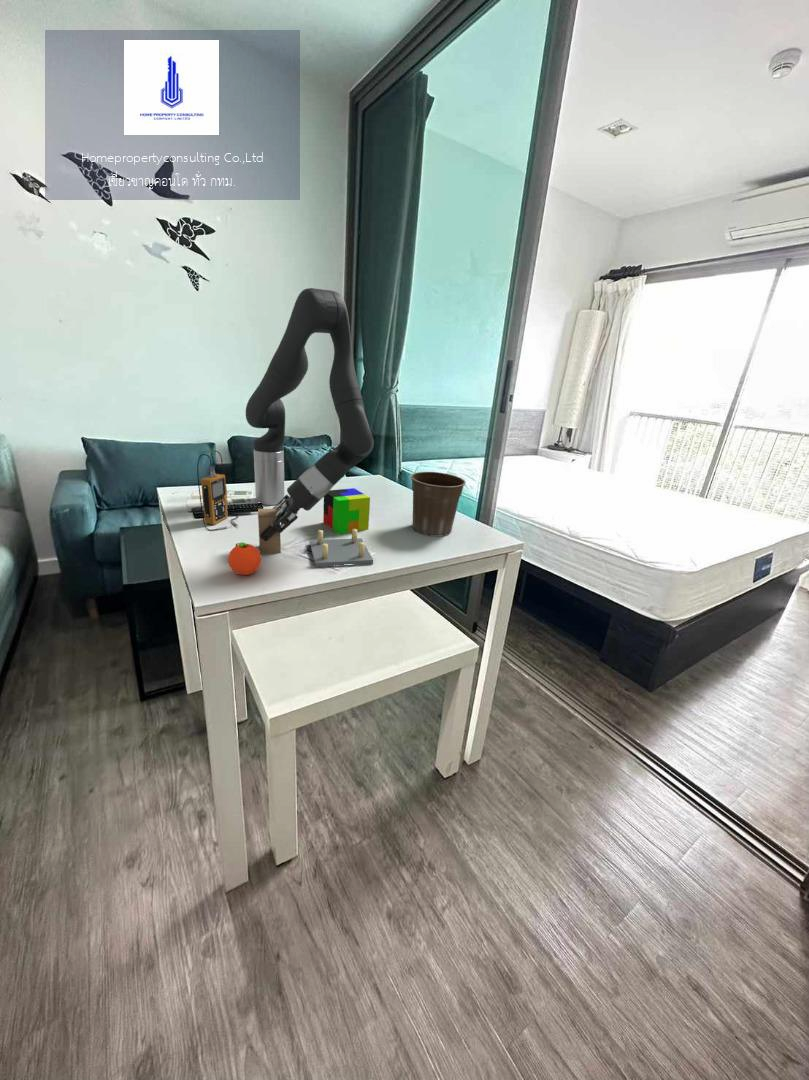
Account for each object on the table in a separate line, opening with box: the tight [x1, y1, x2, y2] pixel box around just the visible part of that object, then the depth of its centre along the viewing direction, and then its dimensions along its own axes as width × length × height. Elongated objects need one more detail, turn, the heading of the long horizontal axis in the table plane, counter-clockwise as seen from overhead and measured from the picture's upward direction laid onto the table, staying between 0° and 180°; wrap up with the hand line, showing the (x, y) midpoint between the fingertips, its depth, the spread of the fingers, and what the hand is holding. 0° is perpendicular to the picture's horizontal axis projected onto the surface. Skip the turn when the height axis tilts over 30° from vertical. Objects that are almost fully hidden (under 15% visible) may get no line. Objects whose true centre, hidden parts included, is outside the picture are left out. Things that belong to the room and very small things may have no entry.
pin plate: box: [308, 529, 374, 568], centre depth 111 cm, size 14×14×5 cm
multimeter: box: [196, 450, 240, 531], centre depth 121 cm, size 15×10×20 cm
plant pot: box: [410, 471, 467, 536], centre depth 131 cm, size 16×16×16 cm
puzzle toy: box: [322, 487, 371, 535], centre depth 129 cm, size 10×10×10 cm
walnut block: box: [257, 508, 282, 555], centre depth 109 cm, size 5×5×10 cm
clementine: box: [227, 542, 262, 576], centre depth 97 cm, size 8×7×7 cm
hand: (262, 533), depth 109 cm, fingers open, 6 cm apart
